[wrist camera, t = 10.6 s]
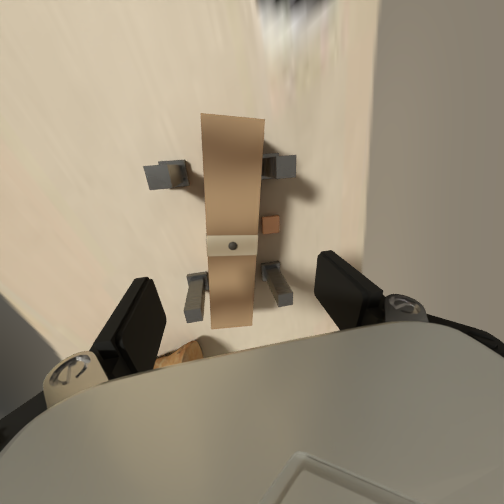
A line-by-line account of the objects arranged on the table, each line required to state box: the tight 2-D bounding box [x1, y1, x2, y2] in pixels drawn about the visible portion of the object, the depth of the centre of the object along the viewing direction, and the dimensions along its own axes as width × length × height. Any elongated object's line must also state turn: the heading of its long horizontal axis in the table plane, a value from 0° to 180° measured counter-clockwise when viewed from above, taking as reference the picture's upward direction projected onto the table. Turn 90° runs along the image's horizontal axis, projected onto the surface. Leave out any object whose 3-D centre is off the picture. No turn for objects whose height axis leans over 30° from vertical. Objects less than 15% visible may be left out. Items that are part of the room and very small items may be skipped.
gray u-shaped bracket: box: [143, 153, 296, 190], centre depth 17 cm, size 2×12×6 cm, turn 94°
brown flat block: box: [262, 215, 279, 234], centre depth 23 cm, size 2×2×1 cm
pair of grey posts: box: [184, 261, 293, 323], centre depth 23 cm, size 2×12×6 cm, turn 94°
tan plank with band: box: [201, 113, 265, 329], centre depth 21 cm, size 20×5×6 cm, turn 177°
